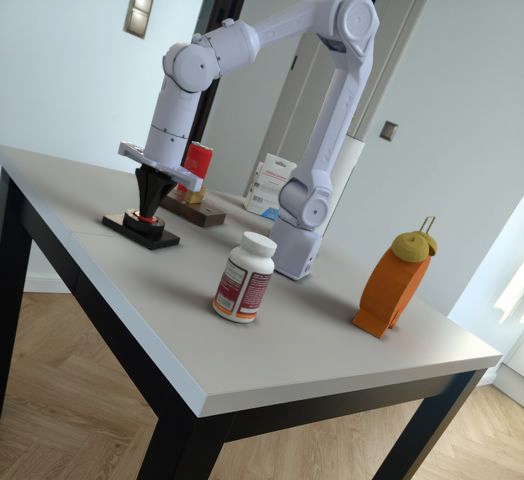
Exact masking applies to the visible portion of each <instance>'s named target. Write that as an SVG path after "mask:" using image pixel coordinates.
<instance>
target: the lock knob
mask: <svg viewBox="0 0 524 480" xmlns="http://www.w3.org/2000/svg"><path fill="white" fill-rule="evenodd" d="M207 188H208V186H206V185H204V184H203V185H202V186H201V189H200V191H198V192H196V191H195V192H193V191H191V190H189V189H188V191H187V194H186V197H185V200H184V201H186V202H188V203H190V204H191V203H202V200H204V197H205V194H206V192H207Z"/></svg>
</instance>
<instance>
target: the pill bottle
mask: <svg viewBox="0 0 524 480" xmlns="http://www.w3.org/2000/svg"><path fill="white" fill-rule="evenodd" d="M239 243H240V246H239V245H238V246H236V247H234V248H232V250H231V251H230V252H229V255H228V257H227V261H226V264H225V266H224V269H223V272H222V275H221V278H220V281H219V282H218V283H219V284H218V287H217V290H216V292H215V294H214V298H213V301H212V308H213V310H214V311H215V312H216V313H217V314H218V315H220V316H221V317H222V318H223V319H226V320H229V321H231V322H236V323H241V324H246V323H247V324H248V323H251V322H253V321H254V320H255V318H256V316H257V313H258V311H259V308H260V306H261V303H262V300H263V298H264V296H265V293H266V290H267V288H268V286H269V283H270V281H271V278H272V276H273V273H274V262H273V261H272V259H271V256H273V255H274V253H275V250H276V248H277V245H276V243H275V242H273V241H272V240H271V239H269V238H268V237H267V236H265V235H262V234H260V233H257V232H253V231H244V232H243V234H242V235H241V238H240V242H239Z"/></svg>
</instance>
